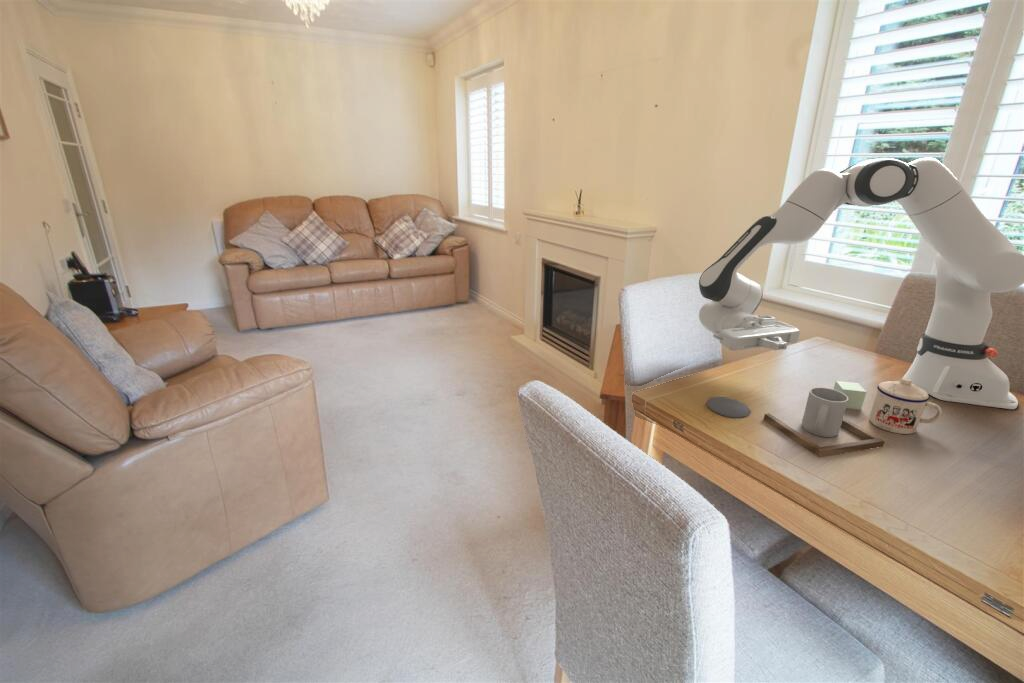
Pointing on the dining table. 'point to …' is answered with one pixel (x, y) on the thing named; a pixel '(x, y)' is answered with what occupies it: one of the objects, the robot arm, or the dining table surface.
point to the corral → (819, 451)
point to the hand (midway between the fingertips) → (781, 346)
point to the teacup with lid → (901, 407)
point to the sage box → (852, 393)
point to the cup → (824, 411)
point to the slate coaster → (728, 407)
